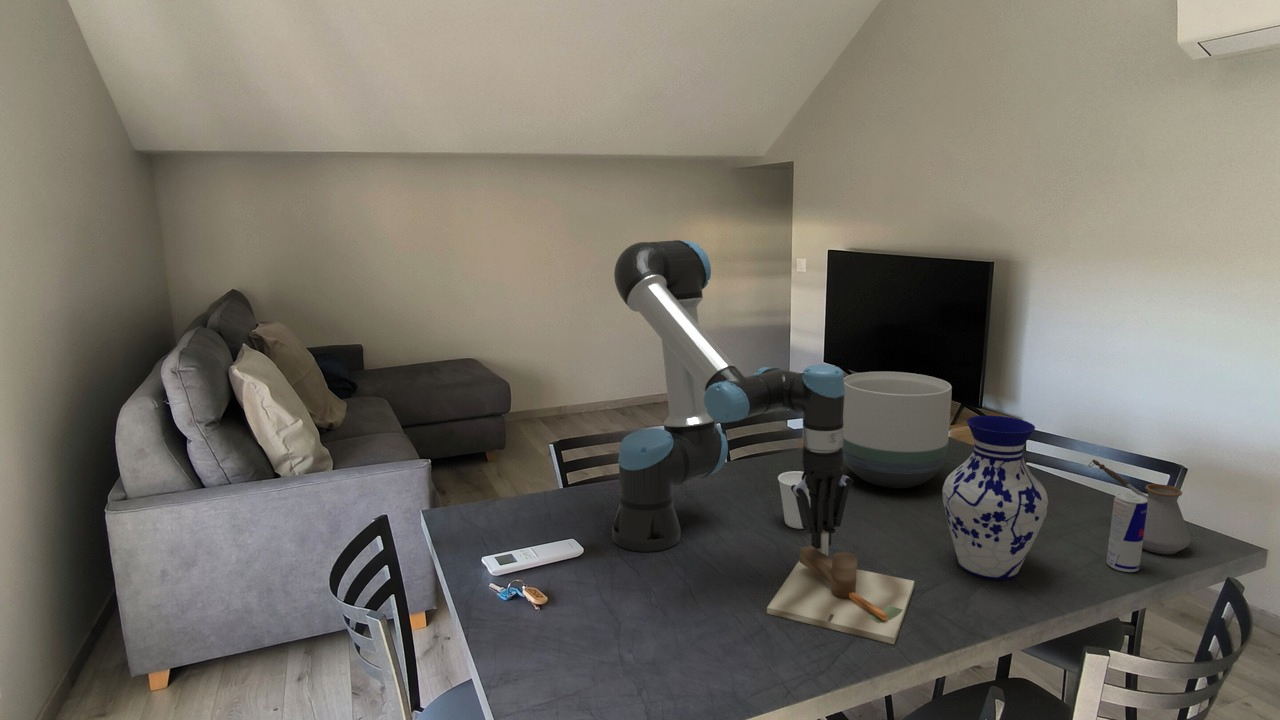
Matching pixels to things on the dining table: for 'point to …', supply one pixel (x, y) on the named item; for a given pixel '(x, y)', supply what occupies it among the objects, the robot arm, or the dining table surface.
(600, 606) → the dining table surface
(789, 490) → the cup
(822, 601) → the cream flat square slab
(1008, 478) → the vase
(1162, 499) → the coffee pot
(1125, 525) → the beverage can
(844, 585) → the wooden mallet
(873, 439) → the planter
